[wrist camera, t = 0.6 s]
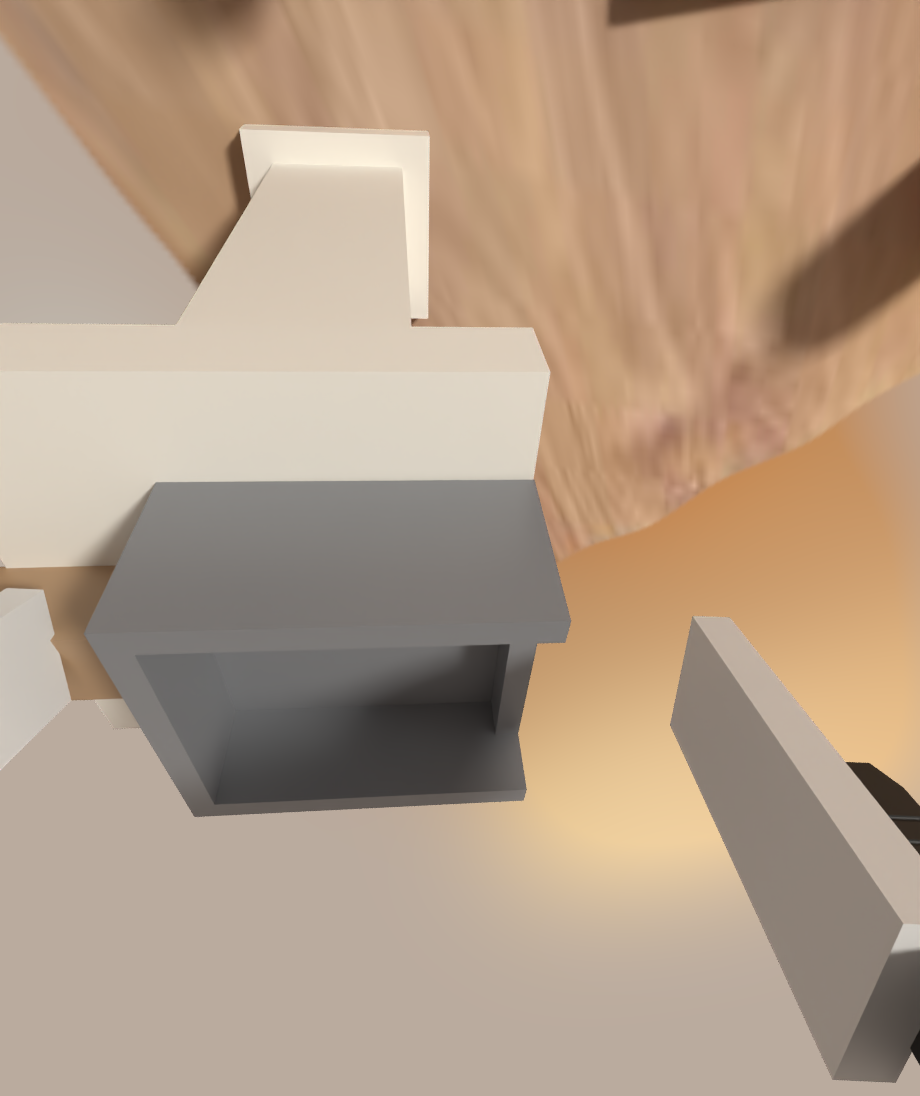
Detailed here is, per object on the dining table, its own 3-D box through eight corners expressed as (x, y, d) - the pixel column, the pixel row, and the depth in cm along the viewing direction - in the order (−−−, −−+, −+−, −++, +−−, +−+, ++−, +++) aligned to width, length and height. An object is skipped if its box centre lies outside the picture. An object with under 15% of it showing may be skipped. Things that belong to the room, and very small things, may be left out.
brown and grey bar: (-307, 694, 16) (-458, 849, 13) (-610, 486, 12) (-947, 660, 9) (504, 667, 18) (523, 800, 15) (534, 479, 13) (571, 620, 10)
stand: (261, 322, 40) (113, 729, 19) (220, 100, 32) (-127, 371, 11) (441, 323, 42) (496, 710, 20) (446, 109, 33) (550, 372, 12)
